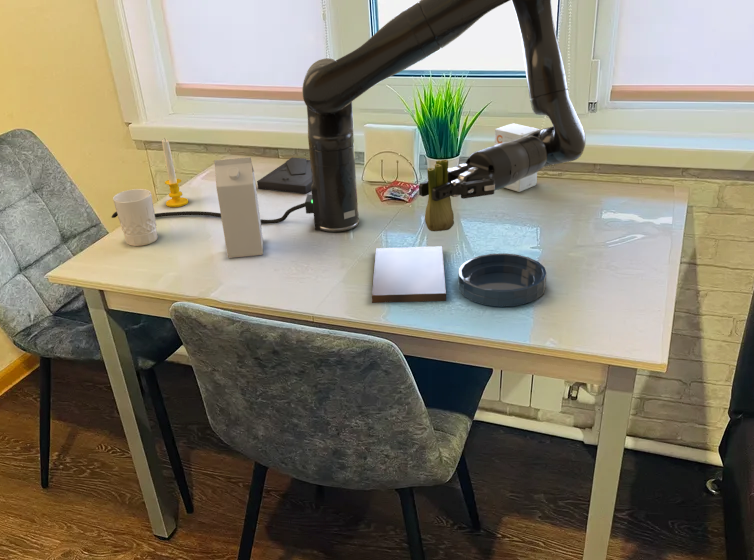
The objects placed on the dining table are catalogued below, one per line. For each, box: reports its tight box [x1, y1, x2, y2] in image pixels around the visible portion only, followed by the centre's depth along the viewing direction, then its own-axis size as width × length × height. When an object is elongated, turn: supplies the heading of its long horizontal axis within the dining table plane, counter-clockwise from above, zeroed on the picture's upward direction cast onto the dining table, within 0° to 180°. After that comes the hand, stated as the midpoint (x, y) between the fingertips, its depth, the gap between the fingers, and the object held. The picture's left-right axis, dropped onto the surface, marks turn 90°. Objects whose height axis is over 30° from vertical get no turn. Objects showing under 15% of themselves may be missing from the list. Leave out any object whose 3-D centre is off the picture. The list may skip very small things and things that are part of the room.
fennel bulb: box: [424, 159, 455, 232], centre depth 135 cm, size 6×5×12 cm
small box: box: [494, 122, 541, 193], centre depth 179 cm, size 8×6×13 cm
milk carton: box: [213, 156, 264, 259], centre depth 156 cm, size 7×7×19 cm
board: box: [371, 245, 447, 304], centre depth 146 cm, size 13×20×2 cm, turn 176°
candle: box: [161, 138, 189, 208], centre depth 182 cm, size 5×5×16 cm
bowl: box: [457, 253, 548, 307], centre depth 139 cm, size 15×15×3 cm
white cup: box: [112, 188, 159, 247], centre depth 166 cm, size 8×8×10 cm
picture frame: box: [256, 157, 312, 195], centre depth 194 cm, size 13×2×18 cm
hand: (427, 192), depth 133 cm, fingers closed on fennel bulb, 2 cm apart
